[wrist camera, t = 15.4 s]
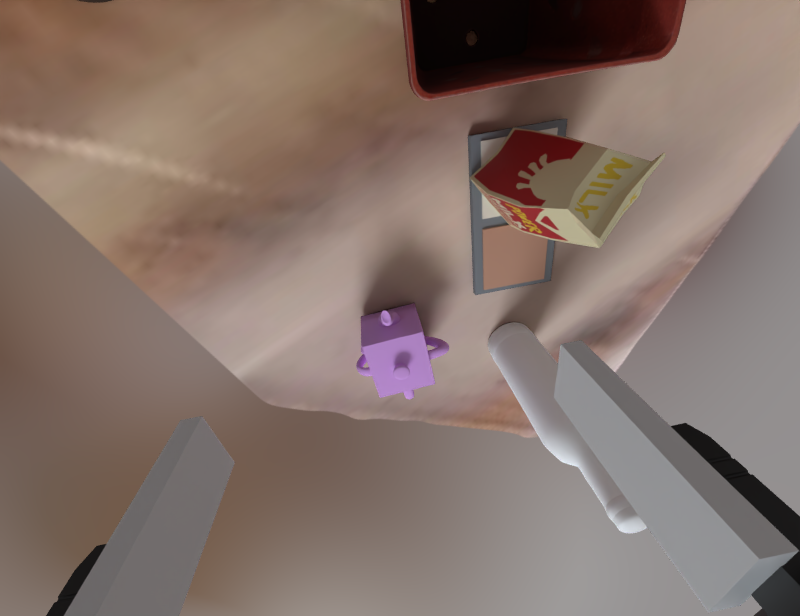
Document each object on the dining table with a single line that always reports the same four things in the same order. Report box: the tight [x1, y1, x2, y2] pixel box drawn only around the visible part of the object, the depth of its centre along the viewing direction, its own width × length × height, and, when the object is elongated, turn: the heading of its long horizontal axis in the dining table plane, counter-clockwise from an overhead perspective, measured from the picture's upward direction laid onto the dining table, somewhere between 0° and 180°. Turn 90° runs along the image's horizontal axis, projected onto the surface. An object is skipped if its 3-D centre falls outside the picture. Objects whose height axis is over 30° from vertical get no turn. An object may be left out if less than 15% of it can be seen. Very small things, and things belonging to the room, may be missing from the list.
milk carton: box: [470, 128, 666, 248], centre depth 32 cm, size 9×9×20 cm
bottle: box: [488, 322, 647, 533], centre depth 43 cm, size 8×8×30 cm
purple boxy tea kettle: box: [356, 303, 449, 399], centre depth 48 cm, size 18×14×10 cm
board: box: [468, 119, 567, 295], centre depth 44 cm, size 22×12×1 cm, turn 9°
